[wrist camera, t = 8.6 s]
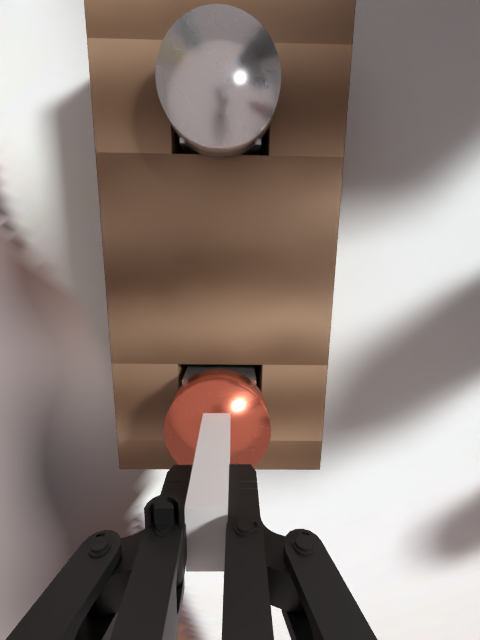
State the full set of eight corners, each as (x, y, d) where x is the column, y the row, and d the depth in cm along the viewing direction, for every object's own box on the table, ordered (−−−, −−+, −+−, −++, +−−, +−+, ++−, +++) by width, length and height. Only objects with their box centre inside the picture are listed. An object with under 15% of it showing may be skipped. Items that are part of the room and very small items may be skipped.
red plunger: (183, 342, 24) (161, 382, 17) (261, 343, 24) (272, 383, 17) (185, 414, 26) (165, 479, 18) (259, 414, 26) (269, 479, 18)
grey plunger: (180, 85, 22) (152, 2, 14) (267, 87, 22) (283, 5, 15) (182, 179, 23) (158, 145, 16) (264, 180, 23) (278, 148, 16)
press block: (123, 56, 22) (83, -14, 16) (324, 61, 22) (356, -6, 16) (143, 423, 28) (119, 469, 22) (302, 424, 28) (319, 469, 22)
